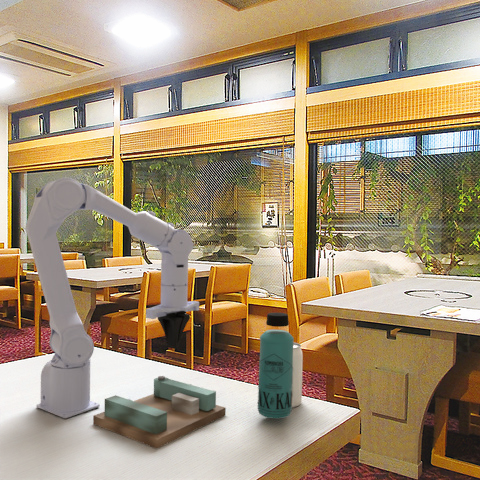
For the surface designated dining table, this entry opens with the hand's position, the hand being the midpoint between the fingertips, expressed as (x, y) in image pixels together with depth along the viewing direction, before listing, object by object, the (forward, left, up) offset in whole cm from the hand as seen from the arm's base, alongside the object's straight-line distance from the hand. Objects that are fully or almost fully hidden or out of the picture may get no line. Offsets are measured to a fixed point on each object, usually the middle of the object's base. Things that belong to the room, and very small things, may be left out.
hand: (173, 347), depth 108 cm
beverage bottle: (+26, 0, -10) cm, 28 cm away
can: (+23, +9, -10) cm, 26 cm away
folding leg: (+9, -7, -8) cm, 14 cm away
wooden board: (+10, -13, -9) cm, 19 cm away
